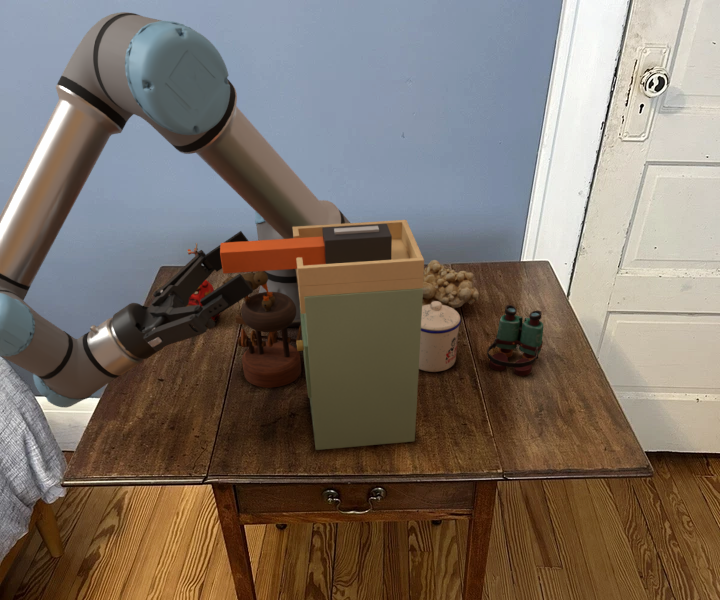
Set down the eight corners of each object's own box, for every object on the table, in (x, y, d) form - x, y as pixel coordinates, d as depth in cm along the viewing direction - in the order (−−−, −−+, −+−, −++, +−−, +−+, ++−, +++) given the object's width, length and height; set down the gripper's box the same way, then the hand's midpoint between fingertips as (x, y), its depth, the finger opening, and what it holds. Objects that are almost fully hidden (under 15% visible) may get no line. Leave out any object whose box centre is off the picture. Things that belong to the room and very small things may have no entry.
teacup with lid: (455, 375, 123) (461, 317, 115) (405, 371, 124) (407, 314, 116) (458, 340, 132) (464, 285, 124) (411, 337, 133) (414, 282, 125)
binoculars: (485, 328, 116) (502, 297, 122) (481, 377, 124) (497, 345, 130) (537, 339, 113) (552, 307, 119) (529, 388, 121) (544, 355, 127)
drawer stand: (301, 399, 118) (286, 226, 97) (400, 391, 120) (406, 219, 99) (306, 451, 108) (290, 269, 87) (414, 441, 109) (424, 260, 89)
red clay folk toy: (178, 324, 138) (163, 253, 128) (196, 308, 143) (183, 238, 132) (211, 330, 136) (198, 258, 126) (228, 314, 141) (217, 243, 130)
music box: (229, 388, 121) (213, 279, 109) (242, 359, 130) (228, 255, 117) (314, 390, 120) (307, 280, 108) (321, 361, 129) (316, 256, 116)
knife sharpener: (223, 261, 95) (219, 230, 92) (386, 251, 97) (386, 220, 94) (223, 275, 92) (218, 244, 89) (391, 264, 94) (391, 233, 91)
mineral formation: (429, 284, 149) (493, 296, 142) (400, 319, 142) (465, 334, 136) (426, 251, 143) (492, 262, 136) (395, 286, 136) (464, 300, 130)
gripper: (95, 367, 87) (227, 280, 81) (121, 279, 105) (231, 202, 100) (136, 405, 92) (264, 326, 86) (155, 314, 110) (261, 244, 104)
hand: (246, 259), depth 93 cm, fingers open, 13 cm apart
